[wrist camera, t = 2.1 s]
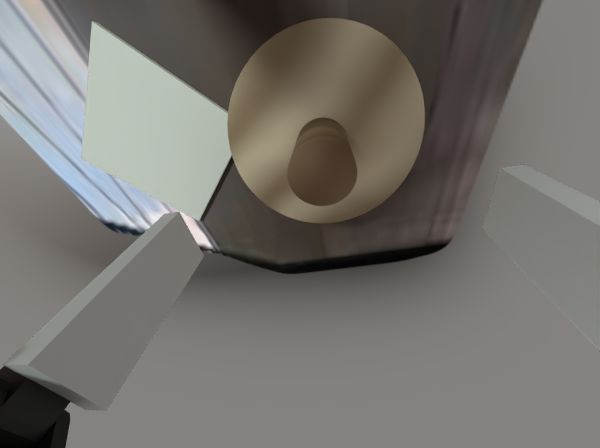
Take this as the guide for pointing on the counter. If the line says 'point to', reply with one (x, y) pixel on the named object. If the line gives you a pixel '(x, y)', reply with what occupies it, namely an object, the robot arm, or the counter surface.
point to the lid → (326, 120)
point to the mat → (152, 127)
